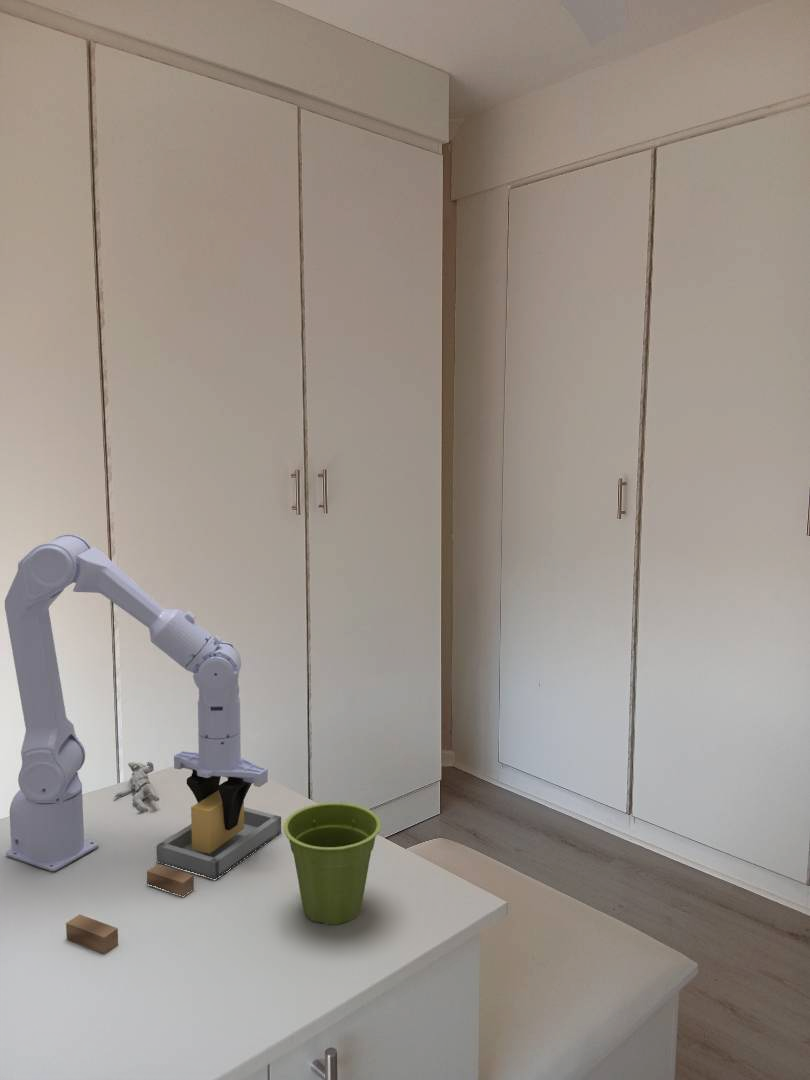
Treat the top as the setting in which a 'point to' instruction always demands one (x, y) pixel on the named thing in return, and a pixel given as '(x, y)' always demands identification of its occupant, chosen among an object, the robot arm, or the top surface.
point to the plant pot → (332, 857)
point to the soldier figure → (140, 785)
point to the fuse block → (211, 824)
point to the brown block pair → (107, 936)
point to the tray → (228, 854)
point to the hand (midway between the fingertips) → (220, 824)
